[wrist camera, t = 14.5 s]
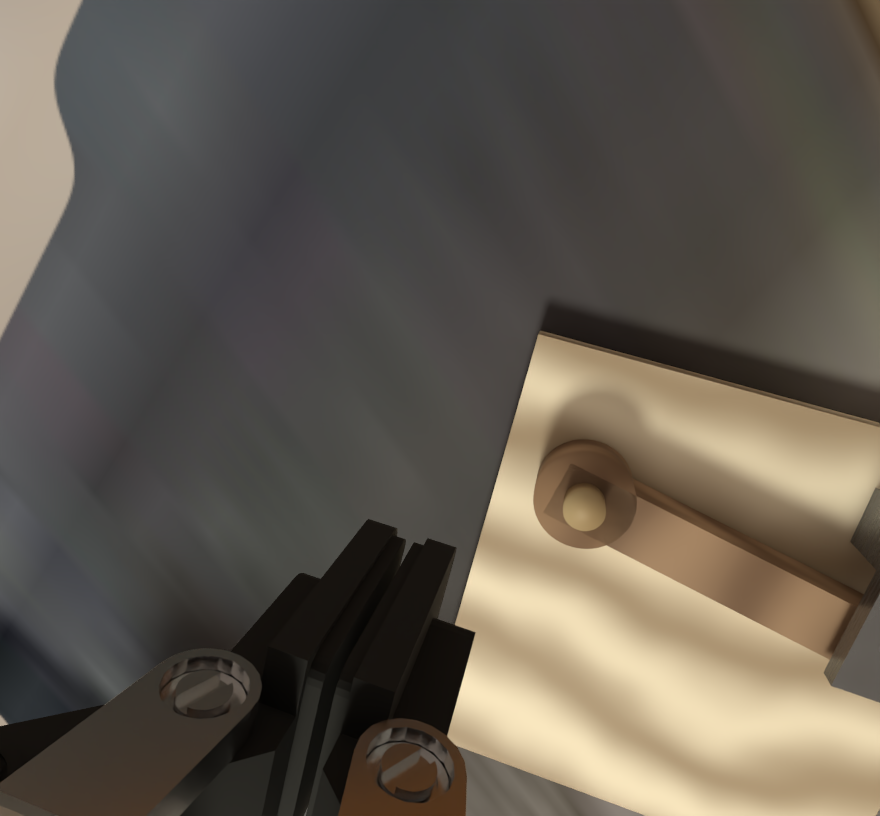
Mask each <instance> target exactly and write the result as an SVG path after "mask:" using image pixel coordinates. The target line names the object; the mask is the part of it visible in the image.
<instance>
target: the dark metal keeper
mask: <svg viewBox="0 0 880 816" xmlns="http://www.w3.org/2000/svg"><path fill="white" fill-rule="evenodd" d="M850 542H851V543H852V544H853V545H854V546H855V547H856V548H857V550H858V551H859V552H860V553H861V554H862V555H863V556H864V557H865V558H866V560H867V561H868V562H869V563H870V564H871V565H872V566H873V567H874V568H875V569H876V572H875V574H874V576H873V578H872V580H871V582H870V584H869V585H868V587H867V589H866V591H865V593H864V595H863V597H862V599H861V601H860V603H859V605H858V607H857V609H856V611H855V612H854V614H853V616H852V618H851V620H850V622H849V624H848V626H847V628H846V630H845V632H844V634H843V636H842V638H841V639H840V641H839V643H838V645H837V647H836V649H835V651H834V653H833V655H832V657H831V659H830V661H829V663H828V665H827V666H826V668H825V670H824V672H823V673H824V674H825V676H826V678H827V680H828V681H829V683H830V685H831V686H833V687H836V688H838V689H841V690H844V691H847V692H850V693H853V694H856V695H859V696H862V697H865V698H867V699H870V700H873V701H876V702H879V703H880V489H878V488H875V490H874V492H873V494H872V496H871V498H870V501H869V503H868V505H867V507H866V509H865V511H864V513H863V515H862V517H861V520H860V522H859V524H858V526H857V528H856V530H855V532H854V534H853V536H852V539H851V541H850Z"/></svg>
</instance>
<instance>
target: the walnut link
mask: <svg viewBox="0 0 880 816" xmlns="http://www.w3.org/2000/svg"><path fill="white" fill-rule="evenodd" d="M533 505H534V510H535V514H536V517H537V519H538V521H539V523H540V524H541V526H542V527H543V529H544V530H545V531H546V532H547V533H548V534H549V535H550V536H551V537H553V538H554V539H555V540H557V541H559V542H560V543H563V544H565V545H567V546H571V547H574V548H580V549H594V548H599V547H603V546H606V545H607V546H609V547H611V548H613V549H614V550H616V551H618V552H620V553H622V554H624V555H626V556H628V557H630V558H632V559H634V560H636V561H638V562H640V563H642V564H644V565H646V566H648V567H650V568H652V569H653V570H655V571H657V572H659V573H661V574H663V575H665V576H667V577H669V578H671V579H673V580H675V581H677V582H679V583H681V584H683V585H685V586H687V587H689V588H691V589H693V590H694V591H696V592H698V593H700V594H702V595H704V596H706V597H708V598H710V599H712V600H714V601H716V602H718V603H720V604H722V605H724V606H726V607H728V608H730V609H732V610H734V611H735V612H737V613H739V614H741V615H743V616H745V617H747V618H749V619H751V620H753V621H755V622H757V623H759V624H761V625H763V626H765V627H767V628H769V629H771V630H773V631H774V632H776V633H778V634H780V635H782V636H784V637H786V638H788V639H790V640H792V641H794V642H796V643H798V644H800V645H802V646H804V647H806V648H808V649H810V650H812V651H814V652H815V653H817V654H819V655H821V656H823V657H825V658H827V659H829V660H830V659H831V657H832V655H833V653H834V651H835V649H836V647H837V645H838V643H839V641H840V639H841V638H842V636H843V634H844V632H845V630H846V628H847V626H848V624H849V622H850V620H851V618H852V616H853V614H854V612H855V611H856V609H857V607H858V605H859V603H860V601H861V599H862V597H863V595H864V594H862V593H860V592H858V591H856V590H854V589H852V588H850V587H848V586H846V585H844V584H842V583H840V582H838V581H836V580H834V579H832V578H830V577H828V576H826V575H824V574H822V573H820V572H819V571H817V570H815V569H813V568H811V567H809V566H807V565H805V564H803V563H801V562H799V561H797V560H795V559H793V558H791V557H789V556H787V555H785V554H783V553H781V552H779V551H777V550H775V549H773V548H771V547H769V546H767V545H765V544H763V543H761V542H759V541H757V540H755V539H753V538H751V537H749V536H747V535H745V534H743V533H741V532H739V531H737V530H735V529H733V528H731V527H729V526H727V525H725V524H723V523H721V522H719V521H717V520H715V519H713V518H711V517H709V516H707V515H705V514H703V513H701V512H699V511H697V510H695V509H693V508H691V507H689V506H687V505H685V504H683V503H681V502H679V501H677V500H675V499H673V498H671V497H669V496H667V495H665V494H663V493H661V492H659V491H657V490H655V489H653V488H651V487H649V486H647V485H645V484H643V483H641V482H639V481H637V480H635V479H633V478H632V474H631V470H630V468H629V466H628V464H627V462H626V461H625V459H624V458H623V457H622V456H621V455H620V454H619V453H618V452H617V451H616V450H615V449H613V448H612V447H610V446H608V445H607V444H604V443H602V442H599V441H595V440H589V439H579V440H572V441H568V442H566V443H563V444H561V445H559V446H557V447H556V448H554V449H553V450H552V451H551V452H550V453H548V455H547V456H546V457H545V458H544V460H543V461H542V463H541V465H540V467H539V470H538V474H537V479H536V484H535V489H534V495H533Z"/></svg>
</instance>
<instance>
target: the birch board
mask: <svg viewBox="0 0 880 816" xmlns="http://www.w3.org/2000/svg"><path fill="white" fill-rule="evenodd" d="M579 439H589V440H595V441H599V442H602V443H604V444H607V445H608V446H610V447H612V448H613V449H615V450H616V451H617V452H618V453H619V454H620V455H621V456H622V457H623V458H624V459H625V461H626V462H627V464H628V466H629V468H630V470H631V474H632V478H633V479H635V480H637V481H639V482H641V483H643V484H645V485H647V486H649V487H651V488H653V489H655V490H657V491H659V492H661V493H663V494H665V495H667V496H669V497H671V498H673V499H675V500H677V501H679V502H681V503H683V504H685V505H687V506H689V507H691V508H693V509H695V510H697V511H699V512H701V513H703V514H705V515H707V516H709V517H711V518H713V519H715V520H717V521H719V522H721V523H723V524H725V525H727V526H729V527H731V528H733V529H735V530H737V531H739V532H741V533H743V534H745V535H747V536H749V537H751V538H753V539H755V540H757V541H759V542H761V543H763V544H765V545H767V546H769V547H771V548H773V549H775V550H777V551H779V552H781V553H783V554H785V555H787V556H789V557H791V558H793V559H795V560H797V561H799V562H801V563H803V564H805V565H807V566H809V567H811V568H813V569H815V570H817V571H819V572H820V573H822V574H824V575H826V576H828V577H830V578H832V579H834V580H836V581H838V582H840V583H842V584H844V585H846V586H848V587H850V588H852V589H854V590H856V591H858V592H860V593H862V594H864V593H865V591H866V589H867V587H868V585H869V584H870V582H871V580H872V578H873V576H874V574H875V572H876V569H875V568H874V567H873V566H872V565H871V564H870V563H869V562H868V561H867V560H866V558H865V557H864V556H863V555H862V554H861V553H860V552H859V551H858V550H857V548H856V547H855V546H854V545H853V544H852V543H851V542H850V541H851V539H852V536H853V534H854V532H855V530H856V528H857V526H858V524H859V522H860V520H861V517H862V515H863V513H864V511H865V509H866V507H867V505H868V503H869V501H870V498H871V496H872V494H873V492H874V490H875V488H878V489H880V423H878V422H875V421H871V420H867V419H864V418H860V417H856V416H853V415H849V414H845V413H842V412H838V411H834V410H831V409H827V408H823V407H820V406H816V405H812V404H809V403H805V402H801V401H797V400H794V399H790V398H786V397H783V396H779V395H775V394H772V393H768V392H764V391H761V390H757V389H753V388H750V387H746V386H742V385H739V384H735V383H731V382H728V381H724V380H720V379H717V378H713V377H709V376H706V375H702V374H698V373H695V372H691V371H687V370H684V369H680V368H676V367H673V366H669V365H665V364H662V363H658V362H654V361H651V360H647V359H643V358H640V357H636V356H632V355H629V354H625V353H621V352H618V351H614V350H610V349H607V348H603V347H599V346H595V345H592V344H588V343H584V342H581V341H577V340H573V339H570V338H566V337H562V336H559V335H555V334H551V333H548V332H544V331H540V332H539V334H538V338H537V341H536V345H535V348H534V352H533V355H532V359H531V362H530V366H529V369H528V373H527V376H526V379H525V383H524V386H523V390H522V393H521V397H520V400H519V404H518V407H517V411H516V414H515V418H514V421H513V425H512V428H511V432H510V435H509V439H508V442H507V446H506V449H505V452H504V456H503V459H502V463H501V466H500V470H499V473H498V477H497V480H496V484H495V487H494V491H493V494H492V498H491V501H490V505H489V508H488V512H487V515H486V519H485V522H484V526H483V529H482V532H481V536H480V539H479V543H478V546H477V550H476V553H475V557H474V560H473V564H472V567H471V571H470V574H469V578H468V581H467V585H466V588H465V592H464V595H463V599H462V602H461V605H460V609H459V612H458V616H457V619H456V623H455V625H456V626H459V627H462V628H465V629H468V630H471V631H473V632H476V633H475V637H474V641H473V644H472V648H471V652H470V655H469V659H468V662H467V666H466V670H465V673H464V677H463V681H462V684H461V688H460V691H459V695H458V699H457V702H456V706H455V710H454V713H453V717H452V720H451V724H450V728H449V731H448V735H447V737H448V738H449V739H450V740H451V741H452V742H453V743H454V744H455V745H456V746H459V747H462V748H465V749H467V750H470V751H473V752H475V753H478V754H481V755H483V756H486V757H489V758H492V759H494V760H497V761H500V762H502V763H505V764H508V765H511V766H513V767H516V768H519V769H521V770H524V771H527V772H529V773H532V774H535V775H538V776H540V777H543V778H546V779H548V780H551V781H554V782H556V783H559V784H562V785H565V786H567V787H570V788H573V789H575V790H578V791H581V792H584V793H586V794H589V795H592V796H594V797H597V798H600V799H602V800H605V801H608V802H611V803H613V804H616V805H619V806H621V807H624V808H627V809H630V810H632V811H635V812H638V813H640V814H643V815H646V816H876V814H877V813H878V811H879V809H880V703H879V702H876V701H873V700H870V699H867V698H865V697H862V696H859V695H856V694H853V693H850V692H847V691H844V690H841V689H838V688H836V687H833V686H831V685H830V683H829V681H828V680H827V678H826V676H825V674H824V673H823V672H824V670H825V668H826V666H827V665H828V663H829V661H830V660H829V659H827V658H825V657H823V656H821V655H819V654H817V653H815V652H814V651H812V650H810V649H808V648H806V647H804V646H802V645H800V644H798V643H796V642H794V641H792V640H790V639H788V638H786V637H784V636H782V635H780V634H778V633H776V632H774V631H773V630H771V629H769V628H767V627H765V626H763V625H761V624H759V623H757V622H755V621H753V620H751V619H749V618H747V617H745V616H743V615H741V614H739V613H737V612H735V611H734V610H732V609H730V608H728V607H726V606H724V605H722V604H720V603H718V602H716V601H714V600H712V599H710V598H708V597H706V596H704V595H702V594H700V593H698V592H696V591H694V590H693V589H691V588H689V587H687V586H685V585H683V584H681V583H679V582H677V581H675V580H673V579H671V578H669V577H667V576H665V575H663V574H661V573H659V572H657V571H655V570H653V569H652V568H650V567H648V566H646V565H644V564H642V563H640V562H638V561H636V560H634V559H632V558H630V557H628V556H626V555H624V554H622V553H620V552H618V551H616V550H614V549H613V548H611V547H609V546H607V545H606V546H603V547H599V548H594V549H580V548H574V547H571V546H567V545H565V544H563V543H560V542H559V541H557V540H555V539H554V538H553V537H551V536H550V535H549V534H548V533H547V532H546V531H545V530H544V529H543V527H542V526H541V524H540V523H539V521H538V519H537V517H536V514H535V510H534V505H533V495H534V489H535V484H536V479H537V474H538V470H539V467H540V465H541V463H542V461H543V460H544V458H545V457H546V456H547V455H548V453H550V452H551V451H552V450H553V449H554V448H556V447H557V446H559V445H561V444H563V443H566V442H568V441H572V440H579Z"/></svg>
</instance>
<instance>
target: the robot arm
mask: <svg viewBox="0 0 880 816" xmlns="http://www.w3.org/2000/svg"><path fill="white" fill-rule="evenodd" d="M405 543H406V539H402V538H399V537H397V528H394V527H391V526H388V525H385V524H382V523H379V522H376V521H373V520H370V519H368V520H367V521H366V522H365V523H364V525H363V526H362V527H361V529H360V530H359V531H358V532H357V534H356V535H355V536H354V537H353V539H352V540H351V541H350V543H349V544H348V545H347V546H346V548H345V549H344V550H343V551H342V553H341V554H340V555H339V557H338V558H337V559H336V560H335V562H334V563H333V564H332V565H331V567H330V568H329V569H328V571H327V572H326V573H325V574H324V576H323V577H322V578H321V579H319V578H316V577H313V576H310V575H307V574H304V573H299V574H298V575H297V576H296V577H295V578H294V579H293V580H292V581H291V583H290V584H289V585H288V586H287V587H286V588H285V590H284V591H283V592H282V593H281V594H280V595H279V596H278V598H277V599H276V600H275V601H274V602H273V603H272V605H271V606H270V607H269V608H268V609H267V610H266V612H265V613H264V614H263V615H262V616H261V617H260V618H259V620H258V621H257V622H256V623H255V624H254V625H253V627H252V628H251V629H250V630H249V631H248V632H247V633H246V635H245V636H244V637H243V638H242V639H241V640H240V642H239V643H238V644H237V645H236V646H235V647H234V648H233V650H232V651H231V652H229V651H227V650H220V649H212V648H204V649H192V650H189V651H185V652H182V653H178V654H176V655H174V656H172V657H170V658H168V659H167V660H165V661H163V662H161V663H160V664H159V665H157V666H156V667H155V668H153V669H152V670H151V671H149V672H148V673H147V674H145V675H144V676H143V677H141V678H140V679H139V680H137V681H136V682H135V683H133V684H132V685H131V686H129V687H128V688H127V689H125V690H124V691H123V692H121V693H120V694H119V695H117V696H116V697H115V698H113V699H112V700H110V701H109V702H108V703H106V704H105V705H101V706H96V707H91V708H86V709H82V710H77V711H72V712H67V713H62V714H58V715H53V716H48V717H43V718H38V719H33V720H29V721H24V722H19V723H14V724H9V725H4V726H0V816H304V813H305V811H306V809H307V807H308V810H307V814H306V816H465V815H466V783H467V775H466V769H465V762H464V760H463V758H462V756H461V754H460V752H459V750H458V748H457V747H456V746H455V744H454V743H453V742H452V741H451V740H450V739H449V738H448V737H447V735H448V731H449V728H450V724H451V720H452V717H453V713H454V710H455V706H456V702H457V699H458V695H459V691H460V688H461V684H462V681H463V677H464V673H465V670H466V666H467V662H468V659H469V655H470V652H471V648H472V644H473V641H474V637H475V633H476V632H473V631H471V630H468V629H465V628H462V627H459V626H456V625H453V624H450V623H447V622H444V621H441V620H439V619H437V618H438V615H439V611H440V608H441V604H442V600H443V597H444V593H445V590H446V586H447V582H448V579H449V575H450V572H451V568H452V564H453V561H454V557H455V553H456V547H453V546H450V545H447V544H444V543H441V542H437V541H434V540H431V539H427V540H426V542H425V544H424V545H421V544H418V543H415V542H414V543H413V545H412V546H411V548H410V550H409V552H408V554H407V555H406V557H405V559H404V561H403V562H402V564H401V560H402V556H403V552H404V548H405ZM400 564H401V566H400ZM308 805H309V806H308Z"/></svg>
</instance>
